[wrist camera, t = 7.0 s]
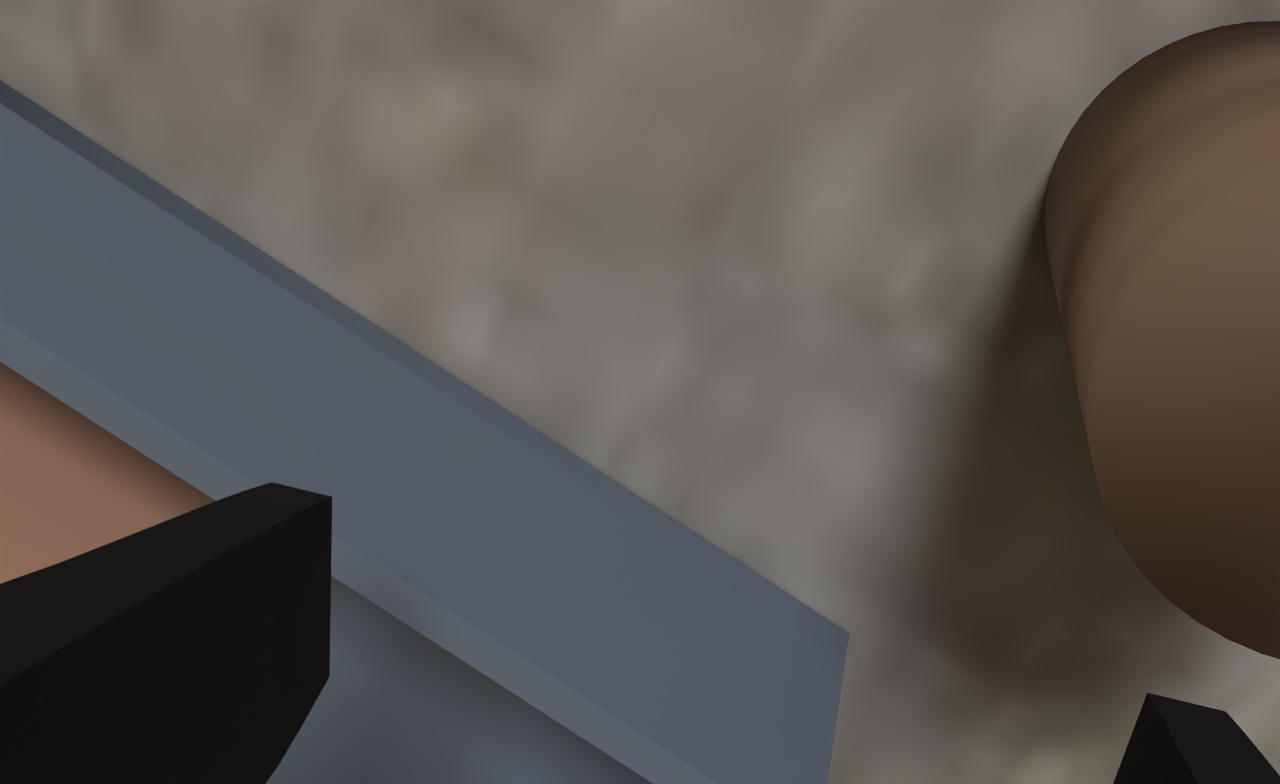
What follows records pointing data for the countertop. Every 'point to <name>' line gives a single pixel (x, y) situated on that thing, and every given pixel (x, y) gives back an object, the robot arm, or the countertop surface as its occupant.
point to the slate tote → (406, 509)
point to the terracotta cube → (72, 482)
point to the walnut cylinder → (1182, 317)
